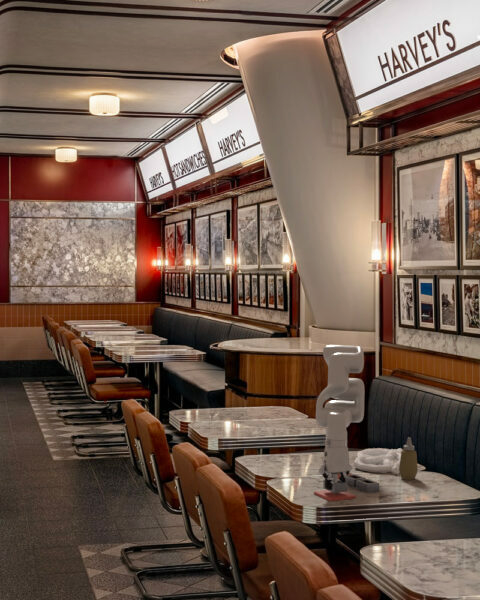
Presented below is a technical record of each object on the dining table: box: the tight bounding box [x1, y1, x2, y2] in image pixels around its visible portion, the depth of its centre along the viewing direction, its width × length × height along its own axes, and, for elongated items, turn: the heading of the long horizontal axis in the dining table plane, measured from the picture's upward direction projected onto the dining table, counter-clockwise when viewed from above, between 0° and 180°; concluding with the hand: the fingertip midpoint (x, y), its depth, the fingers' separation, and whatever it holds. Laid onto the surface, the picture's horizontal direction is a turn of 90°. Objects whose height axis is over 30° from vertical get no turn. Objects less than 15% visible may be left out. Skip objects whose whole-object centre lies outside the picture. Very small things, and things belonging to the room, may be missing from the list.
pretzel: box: [353, 447, 403, 476], centre depth 406 cm, size 28×24×6 cm
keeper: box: [313, 473, 357, 502], centre depth 351 cm, size 12×12×9 cm
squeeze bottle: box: [399, 436, 419, 481], centre depth 384 cm, size 8×8×18 cm
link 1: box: [345, 473, 367, 489], centre depth 370 cm, size 8×6×4 cm
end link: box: [322, 478, 348, 493], centre depth 351 cm, size 8×6×4 cm
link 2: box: [355, 478, 380, 494], centre depth 362 cm, size 8×6×4 cm
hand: (335, 487), depth 351 cm, fingers closed on end link, 6 cm apart
